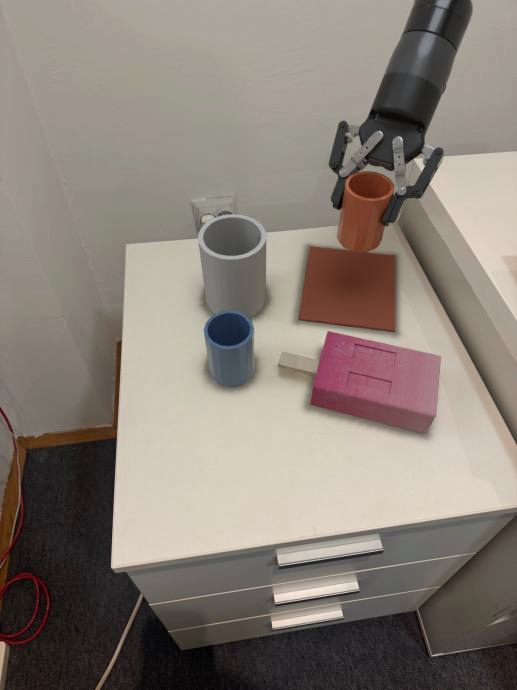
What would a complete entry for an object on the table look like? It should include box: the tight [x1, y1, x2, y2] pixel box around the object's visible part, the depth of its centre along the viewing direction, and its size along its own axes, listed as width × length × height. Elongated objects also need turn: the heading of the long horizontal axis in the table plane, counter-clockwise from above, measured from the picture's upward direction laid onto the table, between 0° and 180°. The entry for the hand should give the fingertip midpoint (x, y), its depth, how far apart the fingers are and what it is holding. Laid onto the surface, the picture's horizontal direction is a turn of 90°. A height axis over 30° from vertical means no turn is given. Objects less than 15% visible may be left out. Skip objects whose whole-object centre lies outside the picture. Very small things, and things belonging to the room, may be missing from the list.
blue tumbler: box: [203, 310, 255, 388], centre depth 63 cm, size 6×6×8 cm
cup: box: [197, 213, 267, 318], centre depth 70 cm, size 9×9×12 cm
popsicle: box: [277, 330, 442, 434], centre depth 63 cm, size 9×5×20 cm
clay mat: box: [298, 245, 396, 333], centre depth 76 cm, size 14×16×1 cm
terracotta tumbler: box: [336, 170, 395, 253], centre depth 64 cm, size 6×6×8 cm
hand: (360, 216), depth 63 cm, fingers closed on terracotta tumbler, 6 cm apart
